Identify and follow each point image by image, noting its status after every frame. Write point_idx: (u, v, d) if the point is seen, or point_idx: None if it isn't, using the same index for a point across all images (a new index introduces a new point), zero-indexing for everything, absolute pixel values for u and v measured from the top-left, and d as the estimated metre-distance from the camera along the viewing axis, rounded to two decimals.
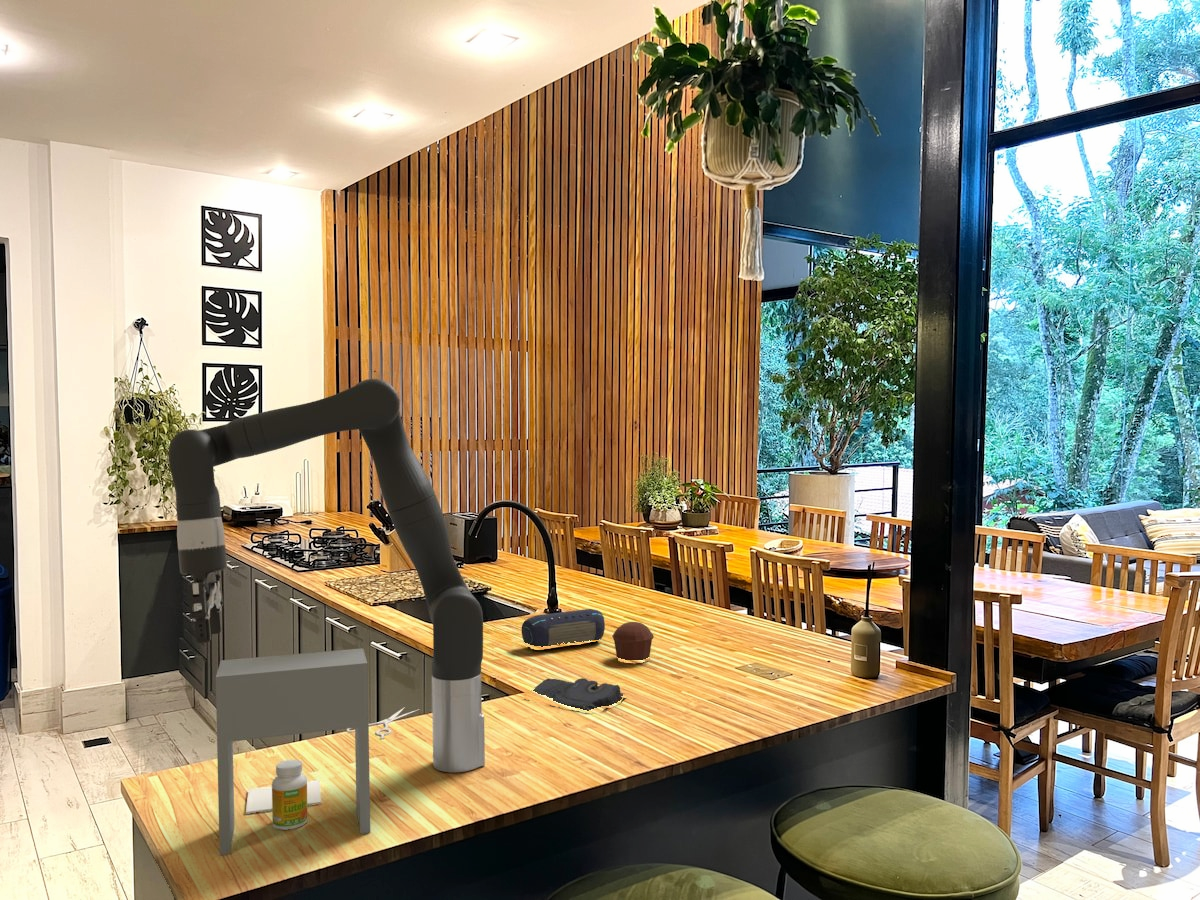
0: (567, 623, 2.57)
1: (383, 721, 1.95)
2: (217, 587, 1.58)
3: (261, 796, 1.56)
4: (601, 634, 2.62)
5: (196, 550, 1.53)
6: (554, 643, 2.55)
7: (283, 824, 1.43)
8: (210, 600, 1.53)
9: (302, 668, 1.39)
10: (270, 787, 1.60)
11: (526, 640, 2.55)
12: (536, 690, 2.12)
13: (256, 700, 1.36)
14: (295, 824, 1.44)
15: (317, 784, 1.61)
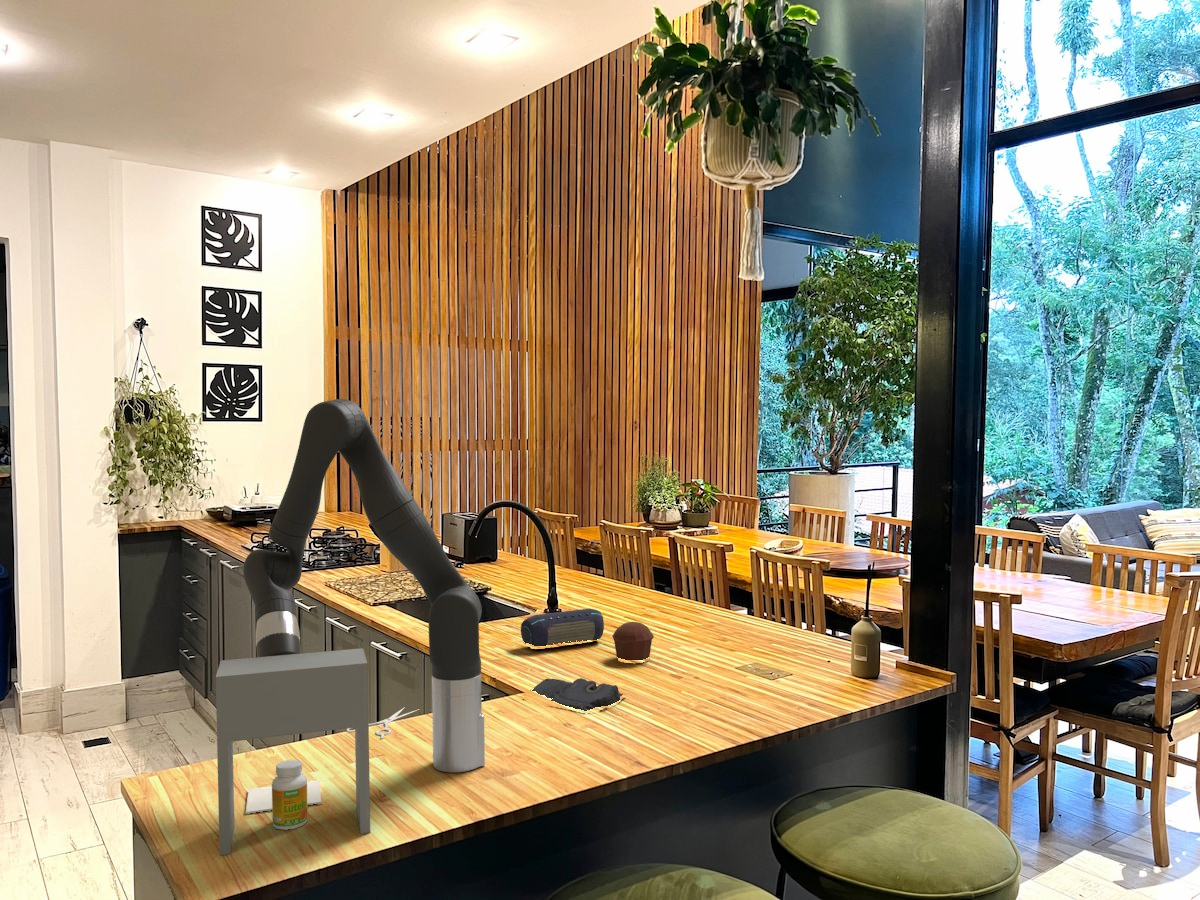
0: (566, 623, 2.57)
1: (383, 721, 1.95)
2: None
3: (261, 796, 1.56)
4: (600, 634, 2.62)
5: (256, 648, 1.62)
6: None
7: (283, 824, 1.43)
8: None
9: (302, 668, 1.39)
10: (270, 787, 1.60)
11: (525, 639, 2.56)
12: (535, 690, 2.12)
13: (256, 700, 1.36)
14: (295, 824, 1.44)
15: (317, 784, 1.61)
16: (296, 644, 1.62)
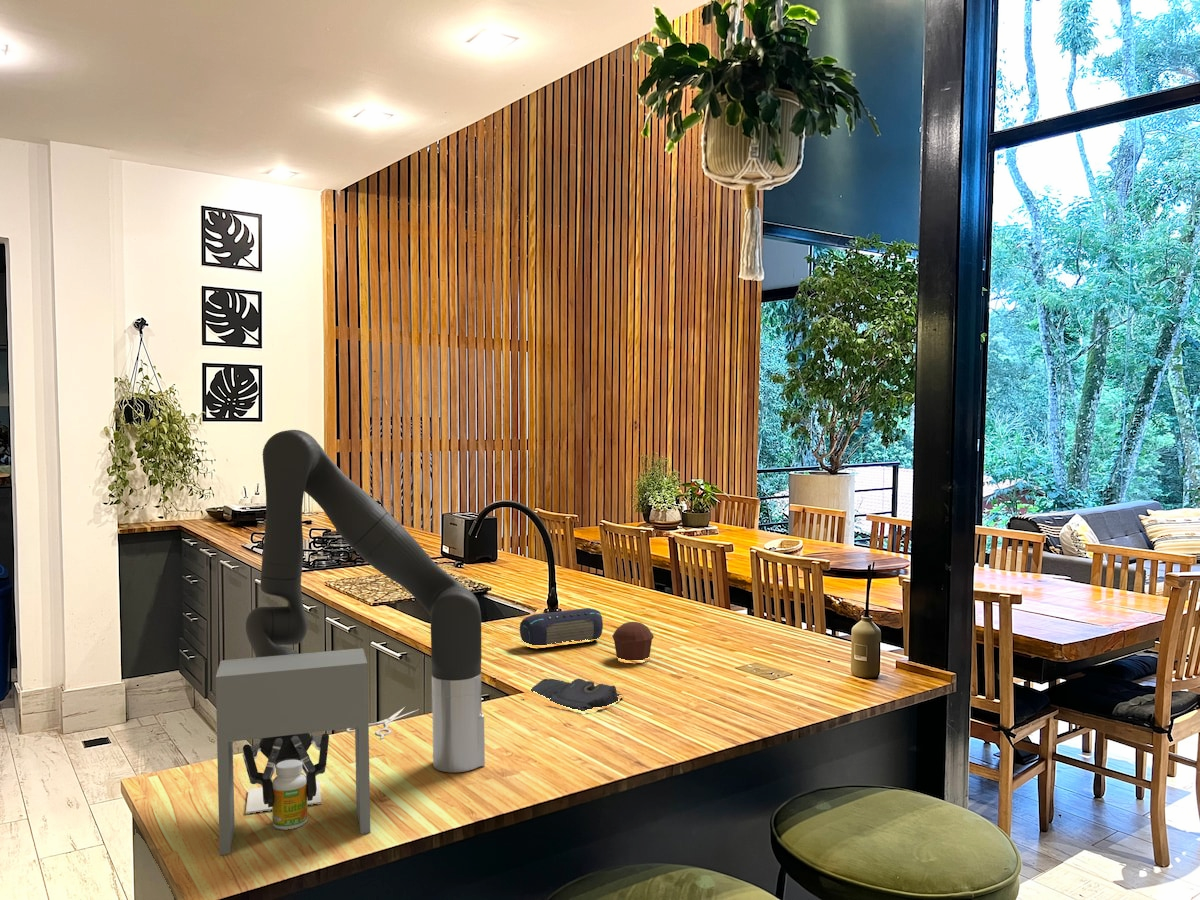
0: (565, 622, 2.58)
1: (383, 721, 1.95)
2: (293, 742, 1.49)
3: (261, 796, 1.56)
4: (599, 633, 2.63)
5: None
6: (552, 642, 2.56)
7: (283, 824, 1.43)
8: (268, 759, 1.46)
9: (302, 668, 1.39)
10: None
11: (524, 639, 2.57)
12: (533, 690, 2.12)
13: (256, 700, 1.36)
14: (295, 824, 1.44)
15: (317, 784, 1.61)
16: None
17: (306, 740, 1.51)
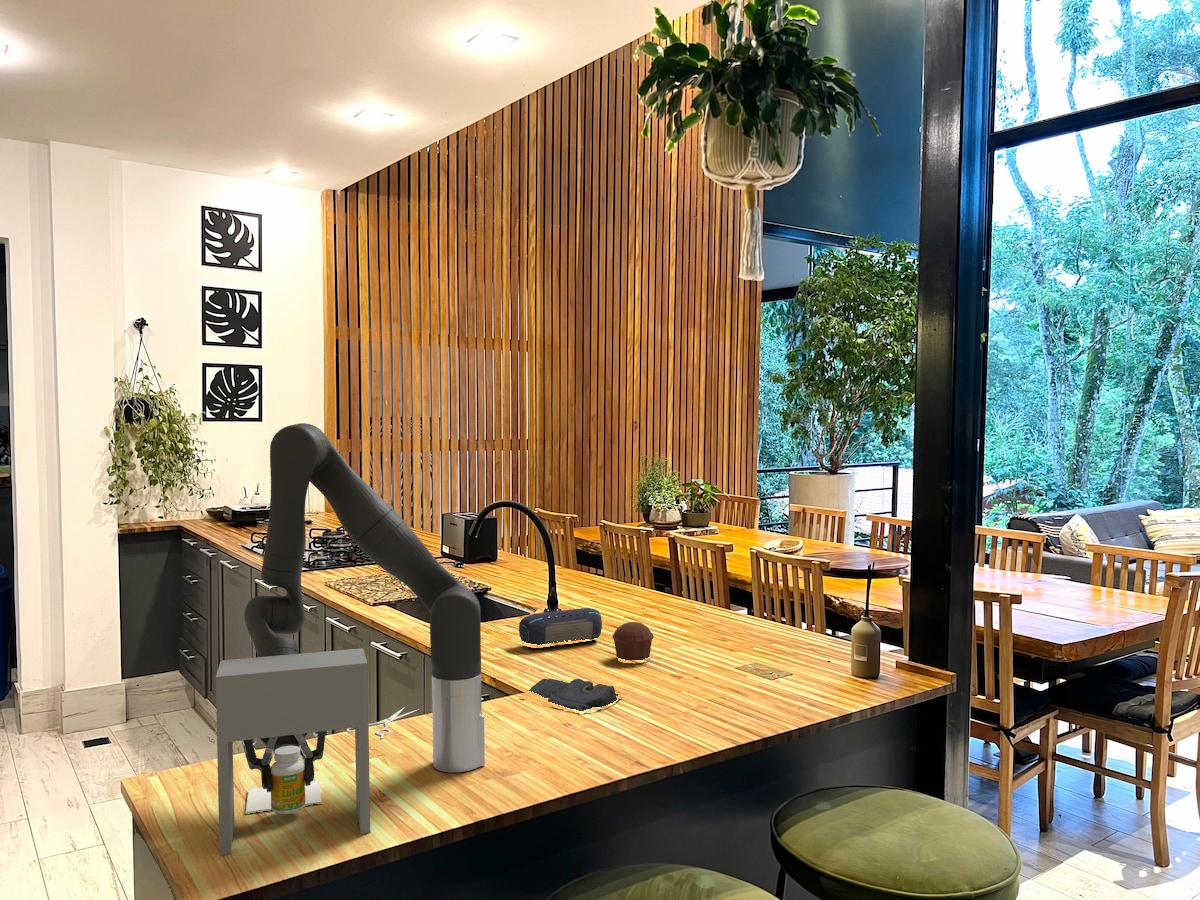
0: (564, 622, 2.58)
1: (383, 721, 1.95)
2: None
3: (261, 796, 1.56)
4: (598, 633, 2.64)
5: None
6: (551, 641, 2.57)
7: (281, 808, 1.46)
8: None
9: (302, 668, 1.39)
10: None
11: (523, 638, 2.57)
12: (532, 690, 2.12)
13: (256, 700, 1.36)
14: (294, 808, 1.47)
15: (317, 784, 1.61)
16: None
17: None
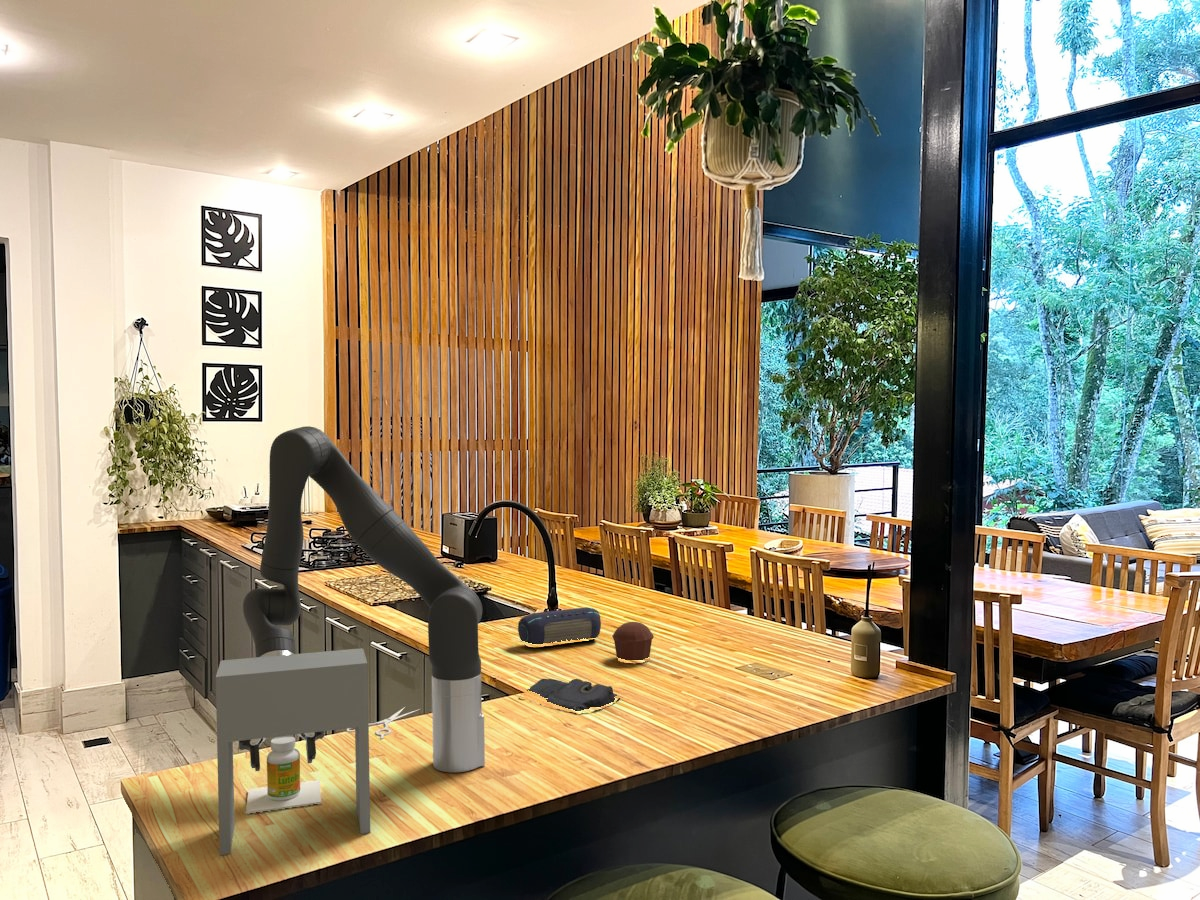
0: (563, 621, 2.59)
1: (383, 721, 1.95)
2: None
3: (261, 796, 1.56)
4: (597, 632, 2.64)
5: None
6: (550, 641, 2.57)
7: (277, 795, 1.54)
8: None
9: (302, 668, 1.39)
10: None
11: (522, 638, 2.58)
12: (530, 690, 2.12)
13: (256, 700, 1.36)
14: (289, 795, 1.54)
15: (317, 784, 1.61)
16: None
17: None
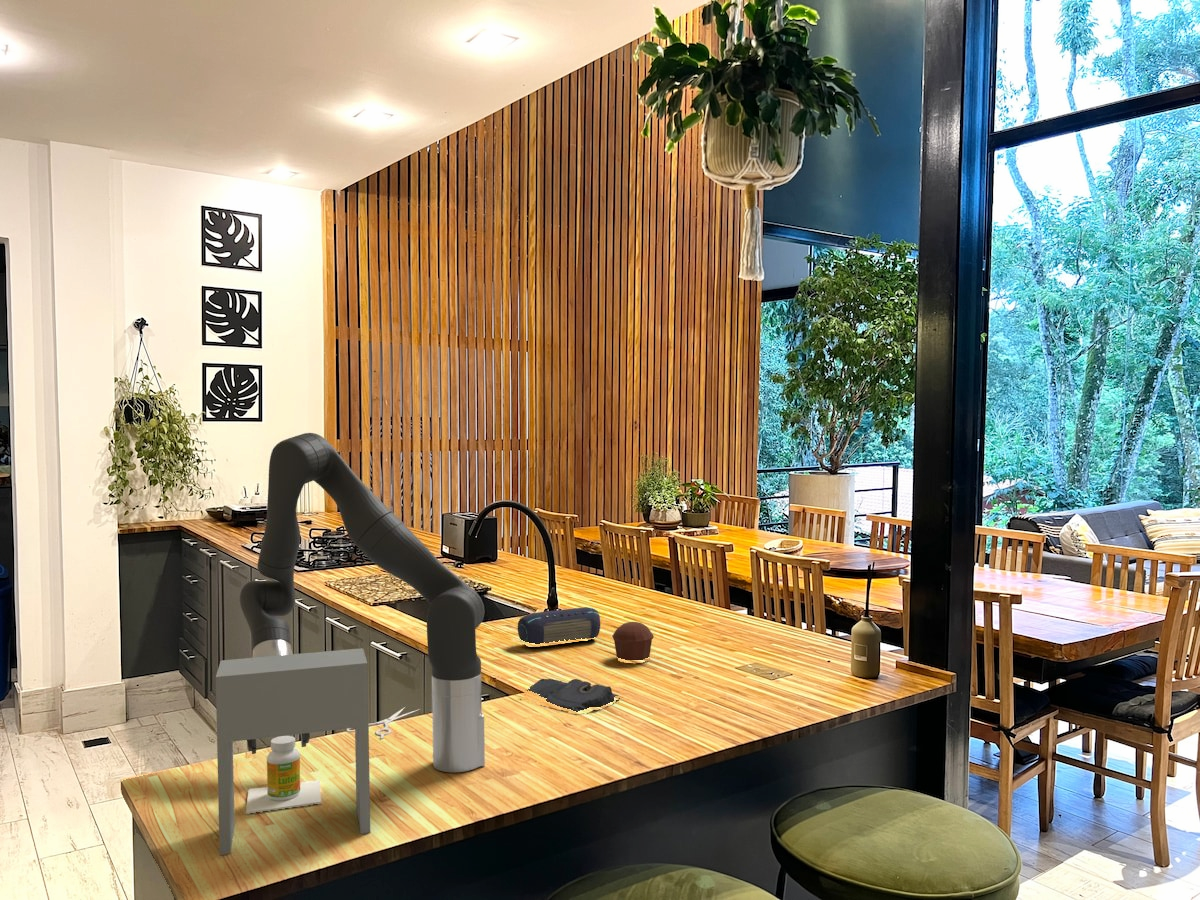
0: (562, 621, 2.59)
1: (383, 721, 1.95)
2: None
3: (261, 796, 1.56)
4: (596, 632, 2.64)
5: None
6: (549, 641, 2.58)
7: (277, 795, 1.54)
8: None
9: (302, 668, 1.39)
10: None
11: (522, 637, 2.58)
12: (530, 690, 2.12)
13: (256, 700, 1.36)
14: (289, 795, 1.54)
15: (317, 784, 1.61)
16: None
17: None
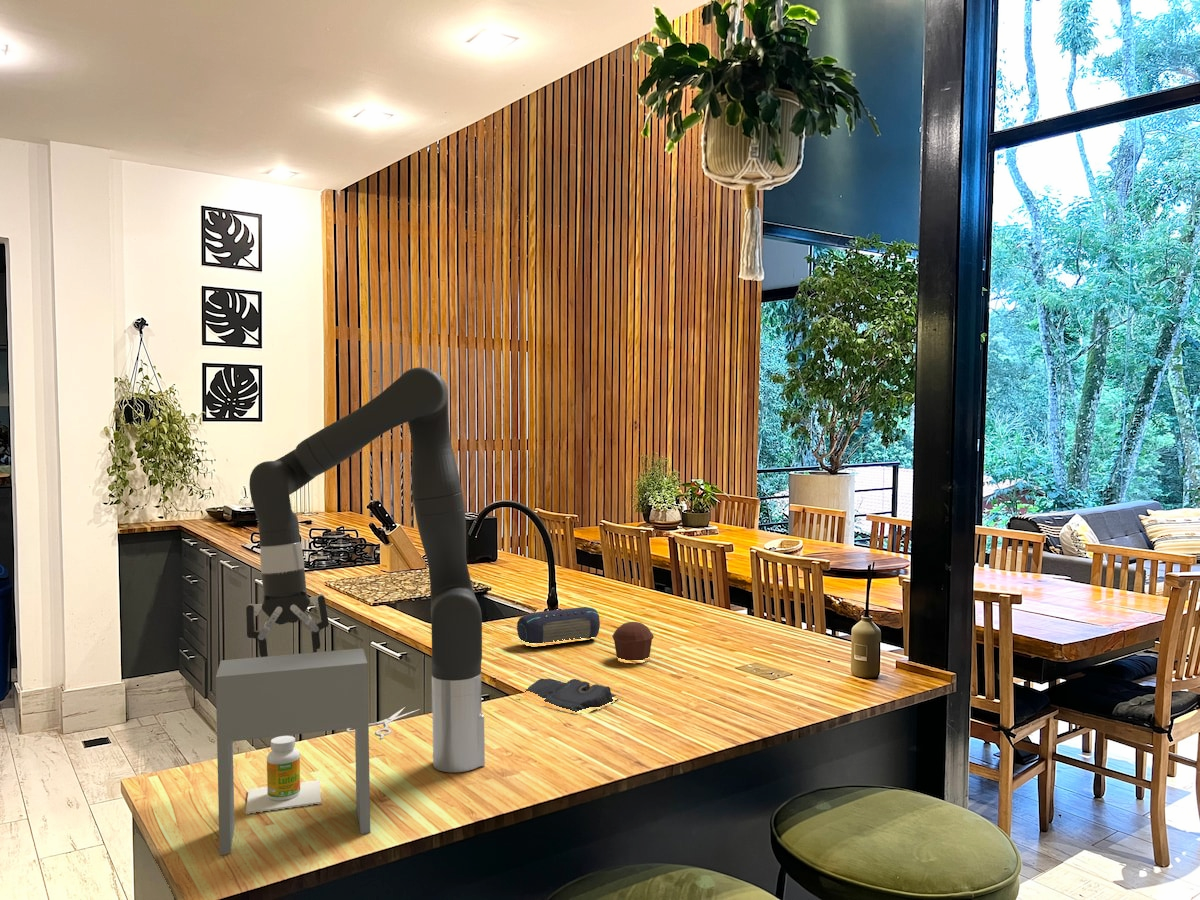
0: (562, 621, 2.60)
1: (383, 721, 1.95)
2: (291, 610, 1.65)
3: (261, 796, 1.56)
4: (596, 632, 2.65)
5: None
6: (548, 640, 2.58)
7: (277, 795, 1.54)
8: (266, 622, 1.64)
9: (302, 668, 1.39)
10: None
11: (521, 637, 2.59)
12: (529, 690, 2.12)
13: (256, 700, 1.36)
14: (289, 795, 1.54)
15: (317, 784, 1.61)
16: (300, 579, 1.65)
17: (304, 606, 1.67)
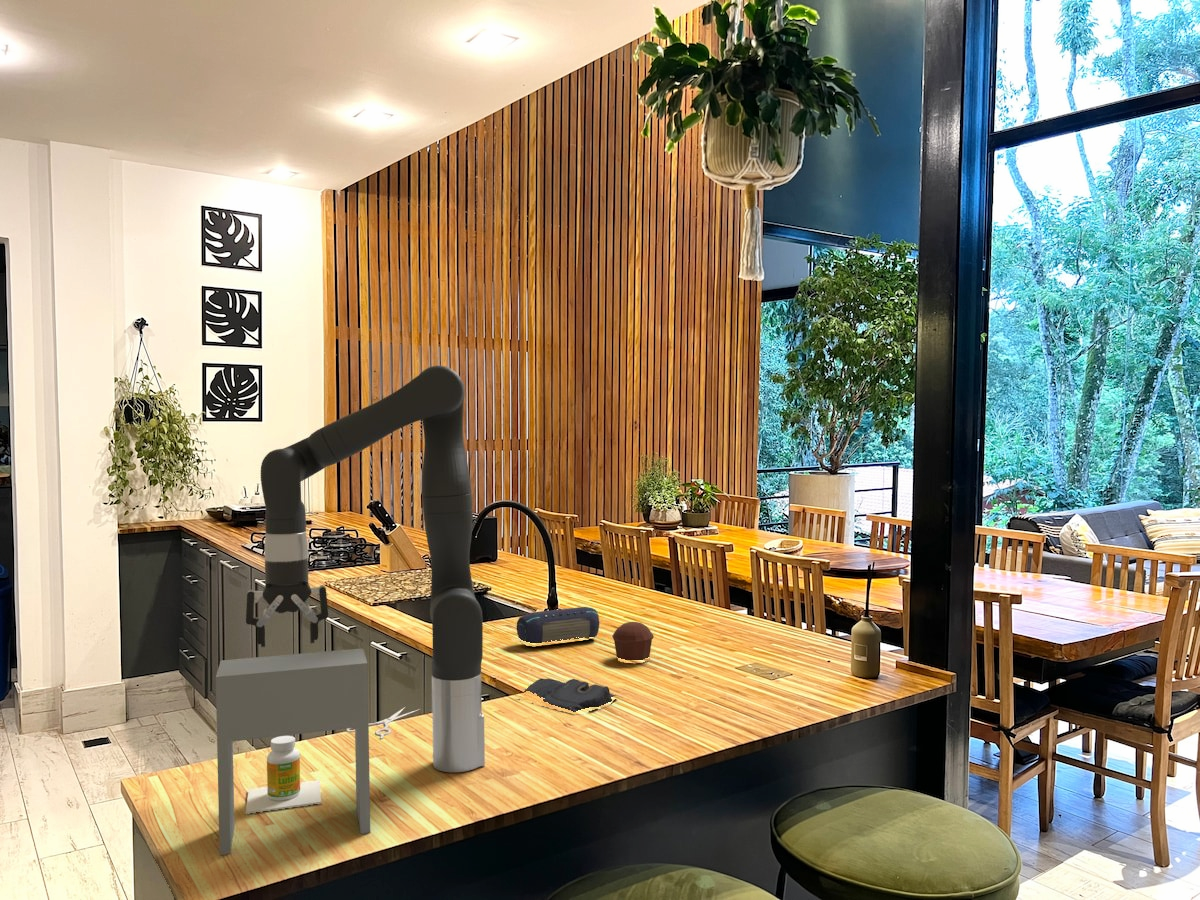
0: (561, 620, 2.60)
1: (383, 721, 1.95)
2: (292, 600, 1.64)
3: (261, 796, 1.56)
4: (595, 632, 2.65)
5: None
6: (548, 640, 2.58)
7: (277, 795, 1.54)
8: (266, 610, 1.63)
9: (302, 668, 1.39)
10: None
11: (520, 637, 2.59)
12: (528, 690, 2.12)
13: (256, 700, 1.36)
14: (289, 795, 1.54)
15: (317, 784, 1.61)
16: (303, 570, 1.64)
17: (305, 596, 1.66)
